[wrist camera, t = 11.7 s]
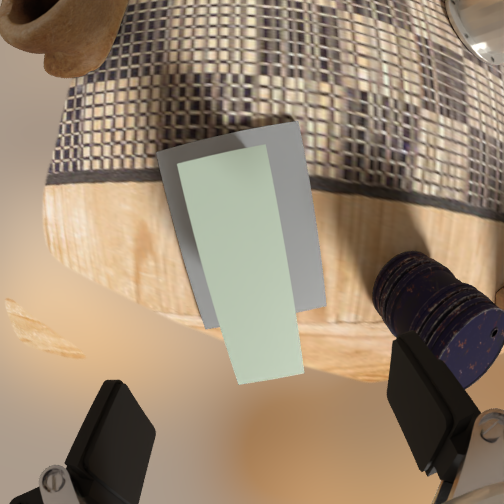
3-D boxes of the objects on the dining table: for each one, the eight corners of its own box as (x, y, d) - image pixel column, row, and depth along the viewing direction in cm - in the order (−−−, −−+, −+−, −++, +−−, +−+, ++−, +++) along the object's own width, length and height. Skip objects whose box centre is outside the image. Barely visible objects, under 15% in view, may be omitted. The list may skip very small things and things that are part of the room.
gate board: (159, 152, 28) (124, 152, 19) (295, 122, 27) (318, 108, 18) (206, 323, 34) (196, 375, 25) (323, 301, 33) (347, 347, 25)
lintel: (189, 162, 19) (176, 163, 15) (261, 146, 19) (265, 144, 15) (239, 353, 24) (238, 384, 21) (296, 342, 24) (304, 373, 20)
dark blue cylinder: (393, 333, 35) (446, 408, 21) (356, 290, 33) (415, 370, 19) (445, 284, 33) (514, 341, 19) (415, 233, 31) (499, 284, 17)
